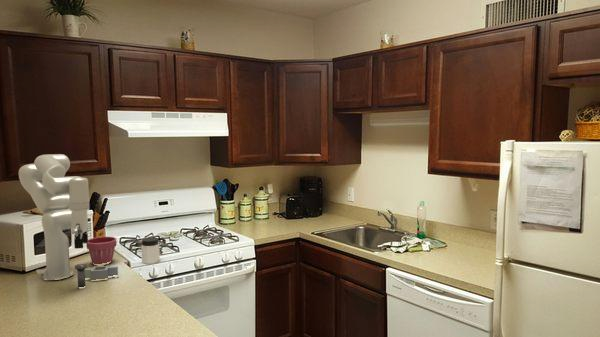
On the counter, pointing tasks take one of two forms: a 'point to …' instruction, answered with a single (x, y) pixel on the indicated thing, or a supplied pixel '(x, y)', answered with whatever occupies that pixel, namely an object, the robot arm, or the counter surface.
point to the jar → (150, 250)
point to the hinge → (101, 272)
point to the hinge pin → (81, 274)
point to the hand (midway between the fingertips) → (81, 245)
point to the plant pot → (101, 249)
